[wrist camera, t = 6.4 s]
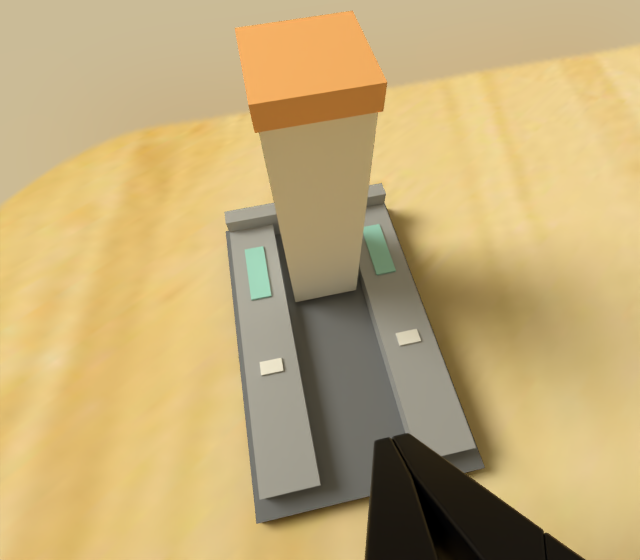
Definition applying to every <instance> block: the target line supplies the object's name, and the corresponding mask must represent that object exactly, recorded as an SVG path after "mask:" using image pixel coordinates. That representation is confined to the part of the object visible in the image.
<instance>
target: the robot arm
mask: <svg viewBox="0 0 640 560" xmlns="http://www.w3.org/2000/svg"><path fill="white" fill-rule="evenodd" d="M365 560H585V559H584V558H582V557H581V556H580V555H578V554H577V553H575V552H574V551H572V550H571V549H569V548H568V547H567V546H565V545H564V544H562V543H561V542H560V541H558V540H557V539H555V538H554V537H553V536H551V535H550V534H549V533H544V531H543V529H541V528H540V527H539V526H537V525H536V524H534V523H533V522H532V521H530V520H529V519H527V518H526V517H525V516H523V515H522V514H521V513H519V512H518V511H516V510H515V509H514V508H512V507H511V506H509V505H508V504H507V503H505V502H504V501H503V500H501V499H500V498H498V497H497V496H496V495H494V494H493V493H491V492H490V491H489V490H487V489H486V488H485V487H483V486H482V485H480V484H479V483H478V482H476V481H475V480H473V479H472V478H471V477H469V476H468V475H467V474H465V473H464V472H462V471H461V470H460V469H458V468H457V467H455V466H454V465H453V464H451V463H450V462H449V461H447V460H446V459H444V458H443V457H442V456H440V455H439V454H437V453H436V452H435V451H433V450H432V449H431V448H429V447H428V446H426V445H425V444H424V443H422V442H421V441H419V440H418V439H417V438H415V437H414V436H413V435H411V434H409V433H404V434H399V435H395V436H393V437H392V439H391V438H390V437H386V438H382V439H378V440H375V441H374V447H373V460H372V473H371V486H370V499H369V511H368V524H367V537H366V550H365Z"/></svg>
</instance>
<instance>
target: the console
mask: <svg viewBox="0 0 640 560" xmlns="http://www.w3.org/2000/svg"><path fill="white" fill-rule="evenodd" d="M385 196H386V193H385V190H384V188H383V185H382V183H380V184H374V185H369V190H368V198H367V206H366V214H365V222H364V230H363V238H362V246H361V254H360V262H359V270H358V278H357V286H356V290H353V291H348V292H344V293H339V294H334V295H329V296H324V297H319V298H314V299H309V300H304V301H299V302H295V298H294V293H293V288H292V284H291V279H290V274H289V270H288V265H287V261H286V256H285V251H284V247H283V242H282V237H281V233H280V228H279V223H278V219H277V214H276V210H275V205H274V203H271V204H265V205H260V206H254V207H249V208H243V209H238V210H232V211H227V212H225V220H226V225H227V227H228V230H229V231H226V238H227V248H228V257H229V267H230V276H231V286H232V295H233V305H234V314H235V324H236V333H237V343H238V352H239V362H240V371H241V381H242V390H243V400H244V409H245V419H246V428H247V437H248V447H249V456H250V466H251V475H252V485H253V494H254V504H255V513H256V523H261V522H265V521H270V520H274V519H278V518H282V517H286V516H290V515H294V514H298V513H302V512H306V511H310V510H315V509H319V508H323V507H327V506H331V505H335V504H339V503H343V502H347V501H351V500H355V499H360V498H364V497H368V496H370V486H371V473H372V460H373V447H374V441H375V440H378V439H382V438H386V437H390V438H391V439H392V437H393V436H395V435H399V434H404V433H409V434H411V435H413V436H414V437H415V438H417V439H418V440H419V441H421V442H422V443H424V444H425V445H426V446H428V447H429V448H431V449H432V450H433V451H435V452H436V453H437V454H439V455H440V456H442V457H443V458H444V459H446V460H447V461H449V462H450V463H451V464H453V465H454V466H455V467H457V468H458V469H460V470H461V471H462V472H464V473H466V472H470V471H474V470H478V469H482V468H485V467H484V464H483V462H482V459H481V456H480V454H479V451H478V448H477V446H476V443H475V440H474V438H473V435H472V432H471V430H470V427H469V425H468V422H467V419H466V417H465V414H464V411H463V409H462V406H461V403H460V401H459V398H458V396H457V393H456V390H455V388H454V385H453V382H452V380H451V377H450V374H449V372H448V369H447V367H446V364H445V361H444V359H443V356H442V353H441V351H440V348H439V345H438V343H437V340H436V337H435V335H434V332H433V330H432V327H431V324H430V322H429V319H428V316H427V314H426V311H425V308H424V306H423V303H422V301H421V298H420V295H419V293H418V290H417V287H416V285H415V282H414V279H413V277H412V274H411V272H410V269H409V266H408V264H407V261H406V258H405V256H404V253H403V250H402V248H401V245H400V243H399V240H398V237H397V235H396V232H395V229H394V227H393V224H392V221H391V219H390V216H389V213H388V211H387V208H386V206H385V203H384V201H385Z"/></svg>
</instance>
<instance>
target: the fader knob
mask: <svg viewBox="0 0 640 560" xmlns="http://www.w3.org/2000/svg"><path fill="white" fill-rule="evenodd" d="M235 32H236V37H237V43H238V49H239V54H240V60H241V66H242V71H243V76H244V82H245V88H246V94H247V99H248V105H249V109H250V114H251V118H252V122H253V127H254V131H255V133H257V132H259V135H260V140H261V145H262V149H263V154H264V159H265V163H266V168H267V173H268V177H269V182H270V186H271V191H272V196H273V200H274V205H275V210H276V214H277V219H278V223H279V228H280V233H281V237H282V242H283V247H284V251H285V256H286V261H287V265H288V270H289V274H290V279H291V284H292V288H293V293H294V298H295V302H299V301H304V300H309V299H314V298H319V297H324V296H329V295H334V294H339V293H344V292H348V291H353V290H356V286H357V278H358V270H359V262H360V254H361V246H362V238H363V230H364V222H365V214H366V206H367V198H368V190H369V181H370V173H371V165H372V157H373V149H374V141H375V133H376V125H377V117H378V112H382V111H383V109H384V102H385V95H386V87H387V81H386V79H385V77H384V75H383V73H382V71H381V69H380V66H379V64H378V62H377V60H376V58H375V56H374V54H373V52H372V50H371V48H370V46H369V44H368V42H367V39H366V37H365V35H364V33H363V31H362V29H361V27H360V25H359V23H358V21H357V19H356V17H355V15H354V12H353V11H347V12H341V13H333V14H327V15H320V16H313V17H306V18H299V19H293V20H286V21H279V22H272V23H266V24H259V25H252V26H245V27H239V28H235Z"/></svg>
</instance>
